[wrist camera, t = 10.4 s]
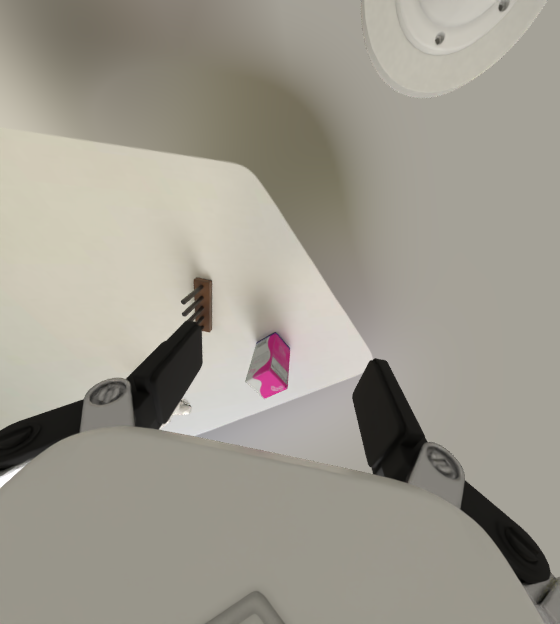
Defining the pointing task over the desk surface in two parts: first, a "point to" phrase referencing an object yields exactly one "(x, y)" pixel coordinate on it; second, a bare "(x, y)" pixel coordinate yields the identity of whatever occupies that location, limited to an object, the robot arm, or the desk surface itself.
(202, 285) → the rack
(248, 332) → the desk surface
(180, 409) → the white creature statuette
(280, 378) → the supplement box
